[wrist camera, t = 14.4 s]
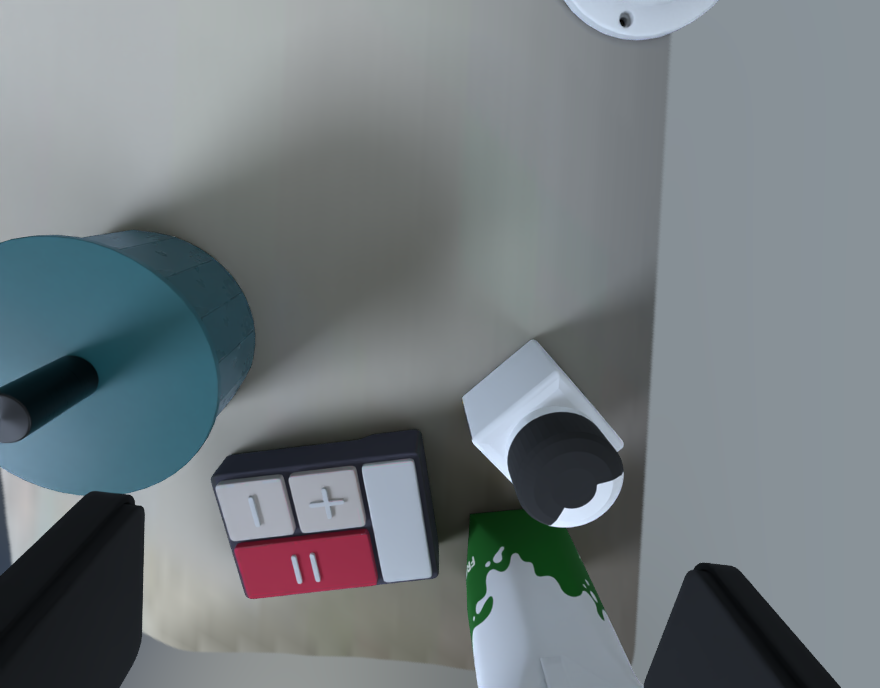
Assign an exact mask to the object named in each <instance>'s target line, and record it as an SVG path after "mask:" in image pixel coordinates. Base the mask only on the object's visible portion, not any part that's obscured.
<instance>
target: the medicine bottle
mask: <svg viewBox="0 0 880 688" xmlns="http://www.w3.org/2000/svg"><path fill="white" fill-rule="evenodd" d="M462 403H463V407H464V411H465V415H466V419H467V423H468V427H469V431H470V435H471V439H472V442H473V444H474V445H475V446H476V447H477V448H478V449H479V450H480V451H481V452H482V453H483V454H484V455H485V456H486V457H487V458H488V459H489V460H490V461H491V462H492V463H493V464H494V465H495V466H496V467H497V468H498V469H499V470H500V471H501V472H502V473H503V474H504V475H505V476H506V477H507V478H508V479H509V480H510V481H511V482H512V483H513V486H514V489H515V492H516V494H517V497H518V500H519V502H520V504H521V506H522V507H523V509H524V510H525V511H526V512H527V513H528V514H529V515H530V516H531V517H532V518H534V519H535V520H537V521H539V522H540V523H543V524H545V525H549V526H553V527H576V526H580V525H584V524H586V523H589V522H591V521H593V520H595V519H597V518H598V517H600V516H601V515H602V514H604V513H605V512H606V511H607V510H608V509H609V508H610V507H611V505H612V504H613V503H614V501H615V500H616V498H617V497H618V495H619V493H620V490H621V487H622V484H623V478H624V471H623V464H622V461H621V458H620V456H619V454H618V451H619V450H620V449H622V448H623V446H624V443H623V441H622V439H621V438H620V437H619V436H618V435H617V433H616V432H615V431H614V430H613V429H612V428H611V426H610V425H609V424H608V423H607V422H606V420H605V419H604V418H603V417H602V416H601V414H600V413H599V412H598V411H597V410H596V409H595V407H594V406H593V405H592V404H591V403H590V401H589V400H588V399H587V398H586V397H585V396H584V395H583V393H582V392H581V391H580V390H579V389H578V388H577V386H576V385H575V384H574V383H573V382H572V381H571V380H570V378H569V377H568V376H567V375H566V374H565V373H564V371H563V370H562V369H561V368H560V367H559V366H558V365H557V363H556V362H555V361H554V360H553V359H552V358H551V356H550V355H549V354H548V353H547V352H546V351H545V350H544V348H543V347H542V346H541V345H540V344H539V343H538V342H537V341H536V340H533V339H532V340H530V341H529V342H527V343H526V344H525V345H524V346H523V347H521V348H520V349H519V350H518V351H517V352H515V353H514V354H513V355H512V356H511V357H509V358H508V359H507V360H506V361H505V362H503V363H502V364H501V365H500V366H499V367H497V368H496V369H495V370H494V371H493V372H491V373H490V374H489V375H488V376H487V377H485V378H484V379H483V380H482V381H481V382H480V383H478V384H477V385H476V386H475V387H474V388H472V389H471V390H470V391H469V392H468V393H466V394H465V395H464V396H463V397H462Z"/></svg>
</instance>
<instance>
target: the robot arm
mask: <svg viewBox="0 0 880 688" xmlns="http://www.w3.org/2000/svg"><path fill="white" fill-rule="evenodd" d="M564 1H565V2H566V4H567V5H568V6H569V8H570V9H571V10H572V12H574V13H575V14H576V15H577V16H578V17H579V18H580V19H581V20H583V21H584V22H585V23H586V24H587V25H589V26H591V27H592V28H594V29H596V30H598V31H600V32H601V33H603V34H606V35H609V36H613V37H616V38H620V39H628V40H645V39H652V38H658V37H661V36H664V35H667V34H669V33H672V32H675V31H677V30H679V29H681V28H682V27H684V26H686V25H688V24H690V23H692V22H693V21H695V20H696V19H697V18H699V17H700V16H701V15H702V14H704V13H705V12H707V11H708V10H709V9H711V8H712V7H713V6H714V5H715V4H716V2H718V0H564ZM620 19H622V20H623V21H624V27H623V26H621V24H620V22H619V21H620ZM144 521H145V513H144V508H143V507H142V506H137V505H135V500H134V498H133V496H131V495H126V494H118V493H109V492H101V491H91V492H89V493H88V494H86V495H85V496H84V497H83V498H82V499H81V500H80V501H79V502H78V503H76V504H75V505H74V506H73V507H72V508H71V509H70V510H69V511H68V512H67V513H66V514H65V515H64V516H63V517H62V518H61V519H60V520H59V521H58V522H57V523H56V524H54V525H53V526H52V527H51V528H50V529H49V530H48V531H47V532H46V533H45V534H44V535H43V536H42V537H41V538H40V539H39V540H38V541H37V542H36V543H35V544H34V545H32V546H31V547H30V548H29V549H28V550H27V551H26V552H25V553H24V554H23V555H22V556H21V557H20V558H19V559H18V560H17V561H16V562H15V563H14V564H13V565H11V566H10V567H9V568H8V569H7V570H6V571H5V572H4V573H3V574H2V575H1V576H0V688H119V687H120V686H121V684H122V682H123V681H124V679H125V677H126V675H127V674H128V672H129V670H130V668H131V667H132V665H133V663H134V661H135V659H136V656H137V654H138V651H139V648H140V644H141V638H142V608H143V565H144ZM644 688H841V687H840V686H839V685H838V684H837V682H836V681H835V680H834V679H833V678H832V677H831V675H830V674H829V673H828V672H827V671H826V670H825V668H824V667H823V666H822V665H821V664H820V663H819V662H818V661H817V659H816V658H815V657H814V656H813V655H812V654H811V652H810V651H809V650H808V649H807V648H806V647H805V645H804V644H803V643H802V642H801V641H800V640H799V638H798V637H797V636H796V635H795V634H794V633H793V632H792V630H790V628H789V627H788V626H787V625H786V624H785V622H784V621H783V620H782V619H781V618H780V617H779V615H778V614H777V613H776V612H775V611H774V610H773V609H772V607H771V606H770V605H769V604H768V603H767V601H766V600H765V599H764V598H763V597H762V596H761V595H760V594H759V592H758V591H757V590H756V589H755V588H754V587H753V585H752V584H751V583H750V582H749V581H748V580H747V579H746V578H745V576H744V575H743V574H742V573H741V572H740V571H739V570H738V569H737V568H735V567H733V566H728V565H720V564H711V563H699V564H698V565H697V566H695V568H694V570H691V571H689V572H688V573H687V574H686V576H685V578H684V581H683V583H682V586H681V589H680V591H679V594H678V597H677V599H676V602H675V604H674V607H673V609H672V612H671V614H670V617H669V620H668V622H667V625H666V628H665V630H664V633H663V635H662V638H661V641H660V643H659V645H658V648H657V651H656V653H655V656H654V658H653V661H652V664H651V666H650V669H649V671H648V674H647V676H646V679H645V683H644Z"/></svg>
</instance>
